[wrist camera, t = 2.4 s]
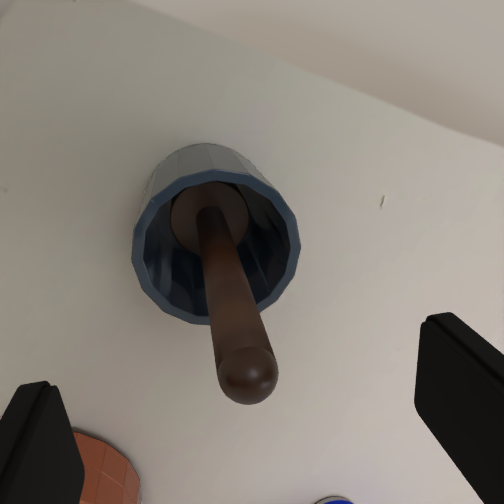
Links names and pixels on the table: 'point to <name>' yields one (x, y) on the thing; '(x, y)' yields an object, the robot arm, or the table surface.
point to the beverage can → (334, 501)
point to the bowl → (106, 474)
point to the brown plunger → (226, 287)
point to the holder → (190, 265)
